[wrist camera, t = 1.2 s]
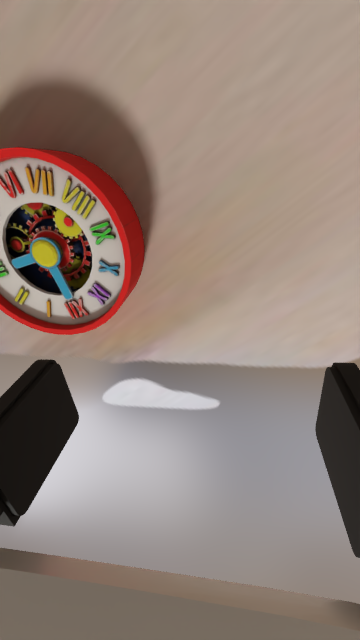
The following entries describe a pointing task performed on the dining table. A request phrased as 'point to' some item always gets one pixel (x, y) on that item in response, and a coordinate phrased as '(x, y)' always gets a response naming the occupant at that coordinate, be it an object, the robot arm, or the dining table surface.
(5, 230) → the toy clock
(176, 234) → the dining table surface
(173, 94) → the dining table surface
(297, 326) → the dining table surface
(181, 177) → the dining table surface
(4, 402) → the robot arm
